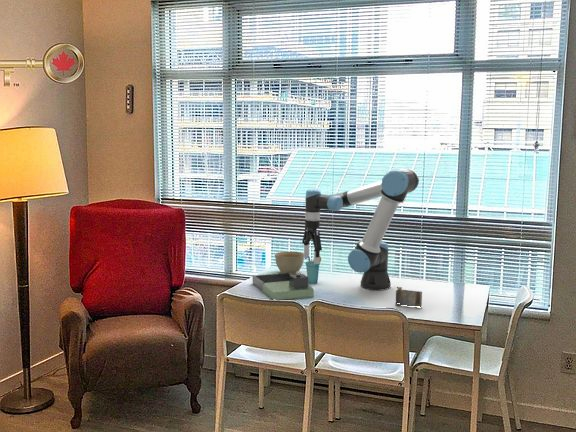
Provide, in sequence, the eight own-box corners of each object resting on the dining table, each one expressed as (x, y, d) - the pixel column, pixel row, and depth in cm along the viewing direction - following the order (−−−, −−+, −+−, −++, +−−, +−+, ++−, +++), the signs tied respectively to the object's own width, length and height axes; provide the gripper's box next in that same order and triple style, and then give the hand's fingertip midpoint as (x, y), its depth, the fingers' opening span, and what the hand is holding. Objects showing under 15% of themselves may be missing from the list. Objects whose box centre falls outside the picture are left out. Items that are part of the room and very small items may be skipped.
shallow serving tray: (313, 296, 308) (313, 274, 306) (274, 300, 301) (274, 277, 299) (289, 280, 338) (289, 260, 337) (252, 283, 331) (252, 263, 330)
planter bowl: (307, 271, 360) (307, 252, 358) (299, 278, 344) (299, 258, 343) (280, 269, 365) (280, 250, 363) (270, 275, 349) (270, 255, 348)
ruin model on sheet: (395, 307, 294) (395, 286, 292) (396, 305, 296) (397, 284, 295) (420, 310, 289) (421, 288, 288) (421, 308, 292) (422, 287, 291)
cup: (311, 286, 326) (311, 257, 324) (298, 284, 330) (298, 256, 328) (324, 281, 338) (325, 253, 336) (311, 279, 342) (312, 251, 340)
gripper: (296, 216, 339) (295, 255, 343) (315, 224, 316) (314, 266, 320) (309, 215, 342) (308, 254, 345) (329, 223, 319) (327, 265, 322)
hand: (311, 260), depth 333 cm, fingers open, 13 cm apart
